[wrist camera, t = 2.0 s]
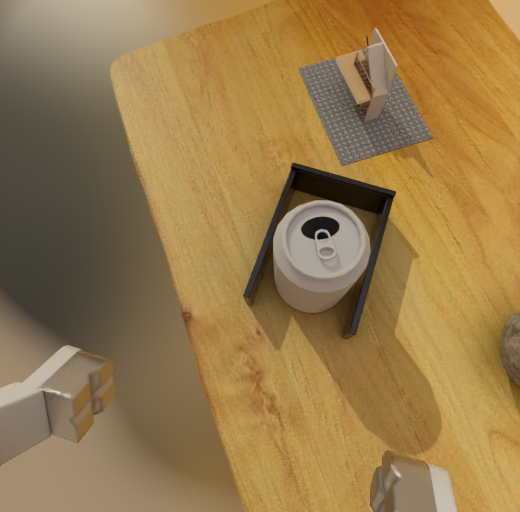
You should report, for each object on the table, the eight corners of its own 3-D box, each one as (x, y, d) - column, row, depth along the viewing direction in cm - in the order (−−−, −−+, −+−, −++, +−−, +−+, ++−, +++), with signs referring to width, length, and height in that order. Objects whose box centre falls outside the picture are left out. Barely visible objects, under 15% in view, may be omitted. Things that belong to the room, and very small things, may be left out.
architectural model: (352, 125, 43) (366, 77, 36) (331, 81, 45) (341, 27, 38) (379, 117, 43) (399, 67, 36) (357, 74, 46) (371, 19, 39)
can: (338, 239, 39) (363, 184, 28) (353, 308, 37) (388, 278, 25) (269, 250, 39) (265, 198, 28) (280, 319, 37) (281, 295, 25)
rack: (347, 339, 36) (356, 334, 31) (246, 304, 37) (242, 294, 33) (383, 210, 40) (396, 191, 35) (291, 183, 41) (292, 161, 37)
